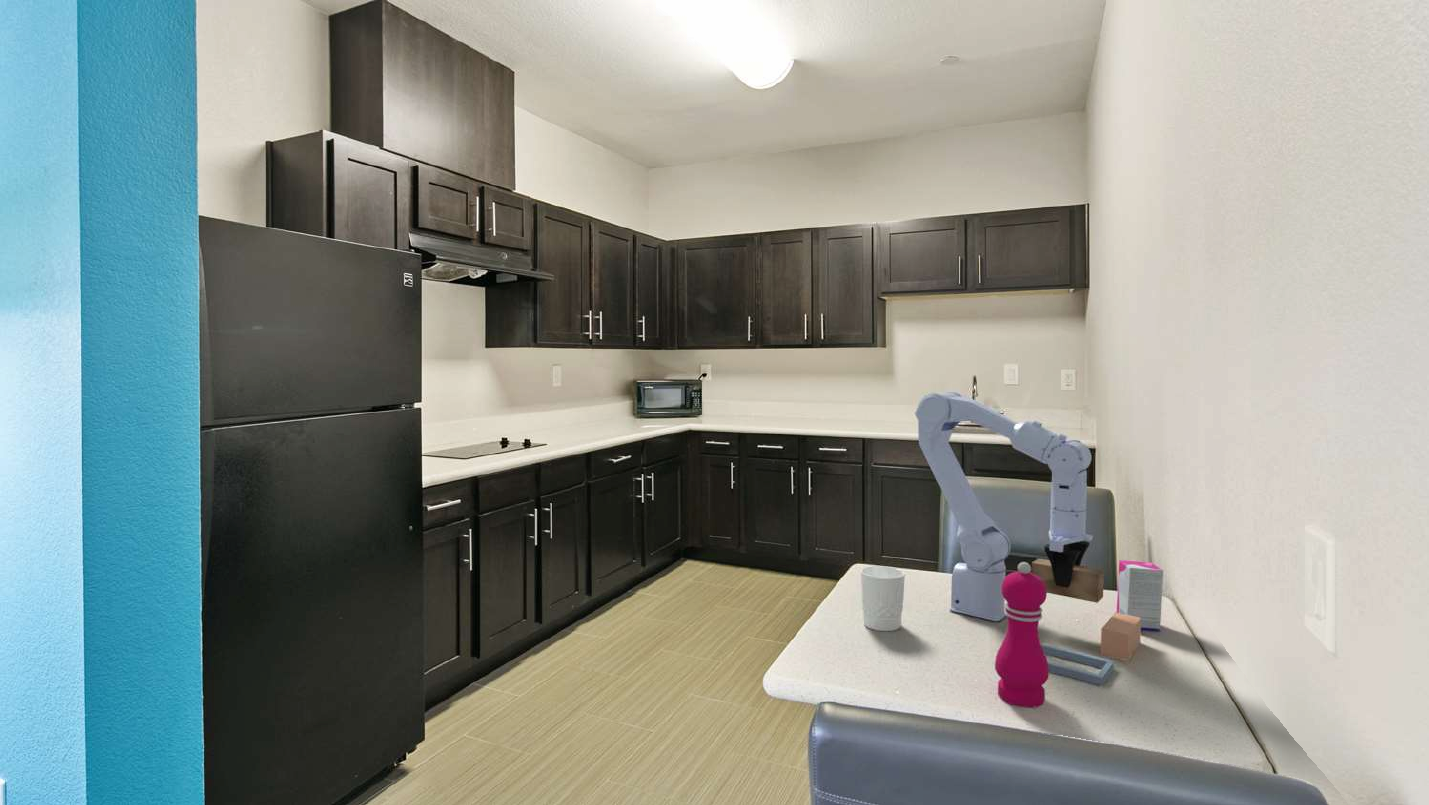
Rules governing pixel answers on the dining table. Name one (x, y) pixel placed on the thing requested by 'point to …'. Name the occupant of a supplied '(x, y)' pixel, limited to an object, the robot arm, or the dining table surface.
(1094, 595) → the wooden block on base
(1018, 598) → the pepper mill
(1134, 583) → the supplement box
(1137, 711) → the dining table surface
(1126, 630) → the pinkish tan block
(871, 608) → the white cup
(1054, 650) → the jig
